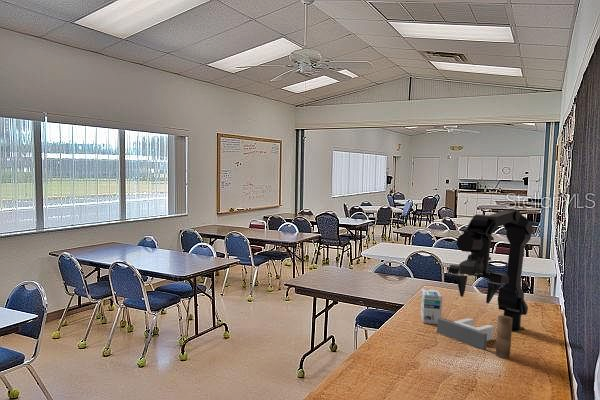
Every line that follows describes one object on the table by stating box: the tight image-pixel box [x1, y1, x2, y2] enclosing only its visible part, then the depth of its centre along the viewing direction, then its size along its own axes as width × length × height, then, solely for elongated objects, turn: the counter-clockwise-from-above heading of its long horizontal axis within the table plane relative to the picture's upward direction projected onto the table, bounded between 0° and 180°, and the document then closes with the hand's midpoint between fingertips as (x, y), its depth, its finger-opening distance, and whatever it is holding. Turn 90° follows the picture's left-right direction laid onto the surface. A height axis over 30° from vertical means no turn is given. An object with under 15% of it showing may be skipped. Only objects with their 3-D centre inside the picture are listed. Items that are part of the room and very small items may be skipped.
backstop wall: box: [436, 317, 488, 350], centre depth 154 cm, size 2×18×5 cm, turn 35°
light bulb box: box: [420, 288, 443, 325], centre depth 176 cm, size 11×7×11 cm, turn 170°
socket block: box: [453, 317, 495, 342], centre depth 158 cm, size 9×10×4 cm
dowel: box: [495, 315, 513, 359], centre depth 142 cm, size 4×4×12 cm
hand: (474, 299), depth 152 cm, fingers open, 9 cm apart
